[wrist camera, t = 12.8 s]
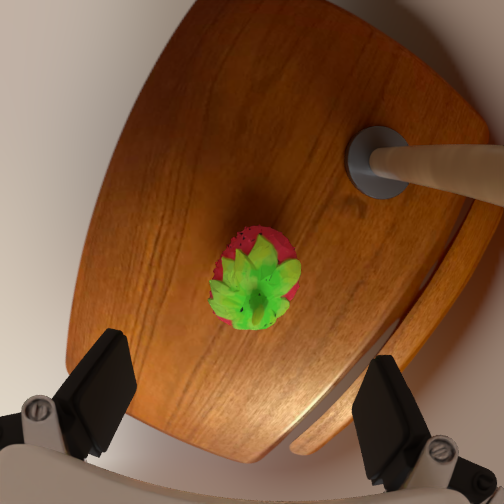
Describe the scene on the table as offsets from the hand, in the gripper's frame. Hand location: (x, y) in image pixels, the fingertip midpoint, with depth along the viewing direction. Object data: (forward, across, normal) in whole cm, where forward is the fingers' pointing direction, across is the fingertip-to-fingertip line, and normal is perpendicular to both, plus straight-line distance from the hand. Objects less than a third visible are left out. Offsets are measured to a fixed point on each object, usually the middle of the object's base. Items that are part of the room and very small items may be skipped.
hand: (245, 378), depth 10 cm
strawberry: (+16, 0, +1) cm, 16 cm away
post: (+16, -9, -8) cm, 20 cm away
